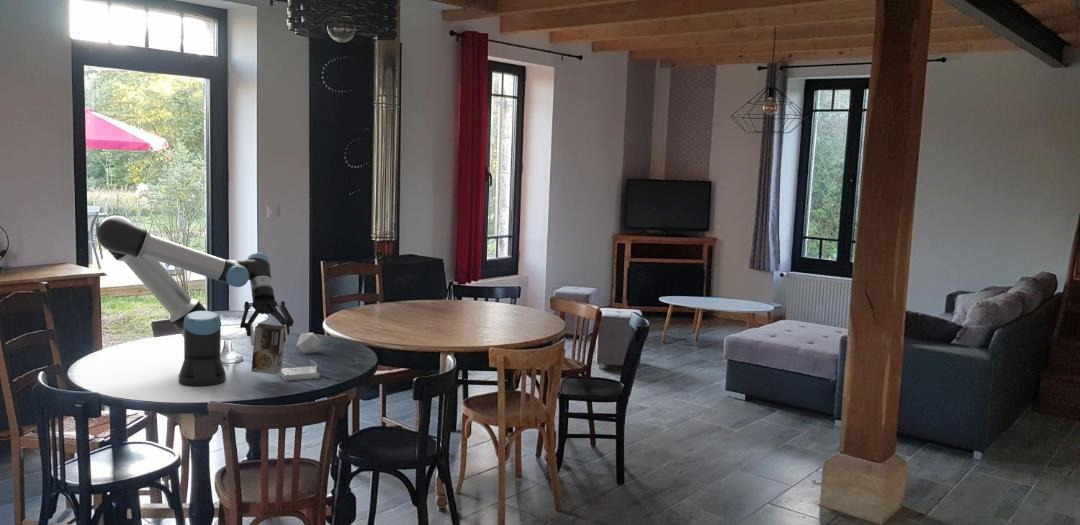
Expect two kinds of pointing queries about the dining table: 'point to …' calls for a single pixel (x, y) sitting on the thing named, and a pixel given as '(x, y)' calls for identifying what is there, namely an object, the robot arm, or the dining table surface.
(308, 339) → the die
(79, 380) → the dining table surface
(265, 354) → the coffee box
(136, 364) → the dining table surface
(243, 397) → the dining table surface
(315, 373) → the tray
